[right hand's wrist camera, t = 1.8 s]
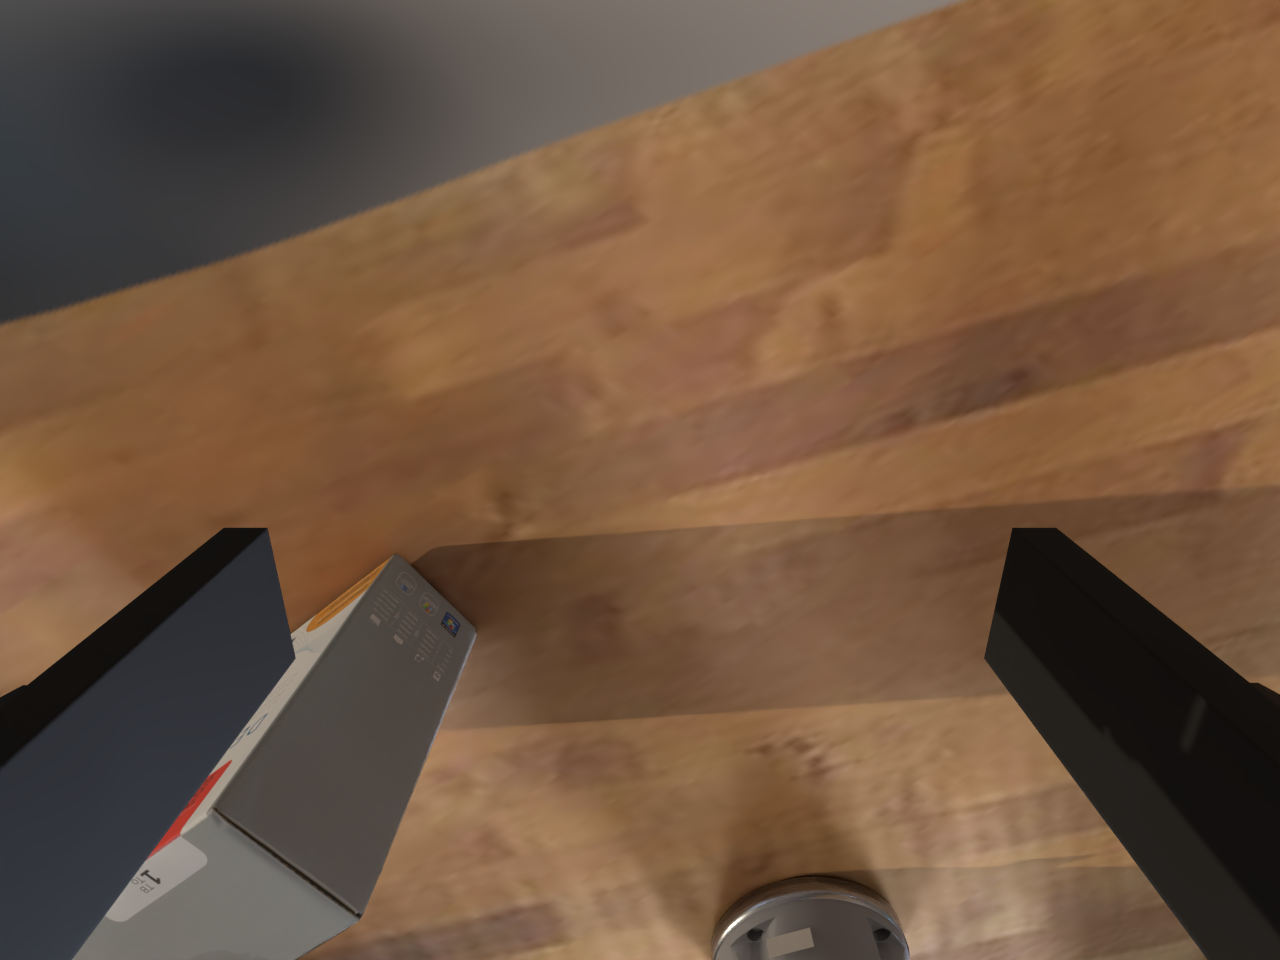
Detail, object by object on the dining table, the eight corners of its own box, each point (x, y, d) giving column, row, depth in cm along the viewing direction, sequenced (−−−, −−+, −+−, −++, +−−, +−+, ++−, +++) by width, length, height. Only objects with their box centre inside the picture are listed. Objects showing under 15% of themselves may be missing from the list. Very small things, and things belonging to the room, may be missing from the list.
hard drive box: (396, 546, 44) (217, 806, 25) (482, 629, 46) (375, 923, 27) (232, 675, 47) (-32, 986, 29) (318, 746, 49) (126, 1077, 31)
